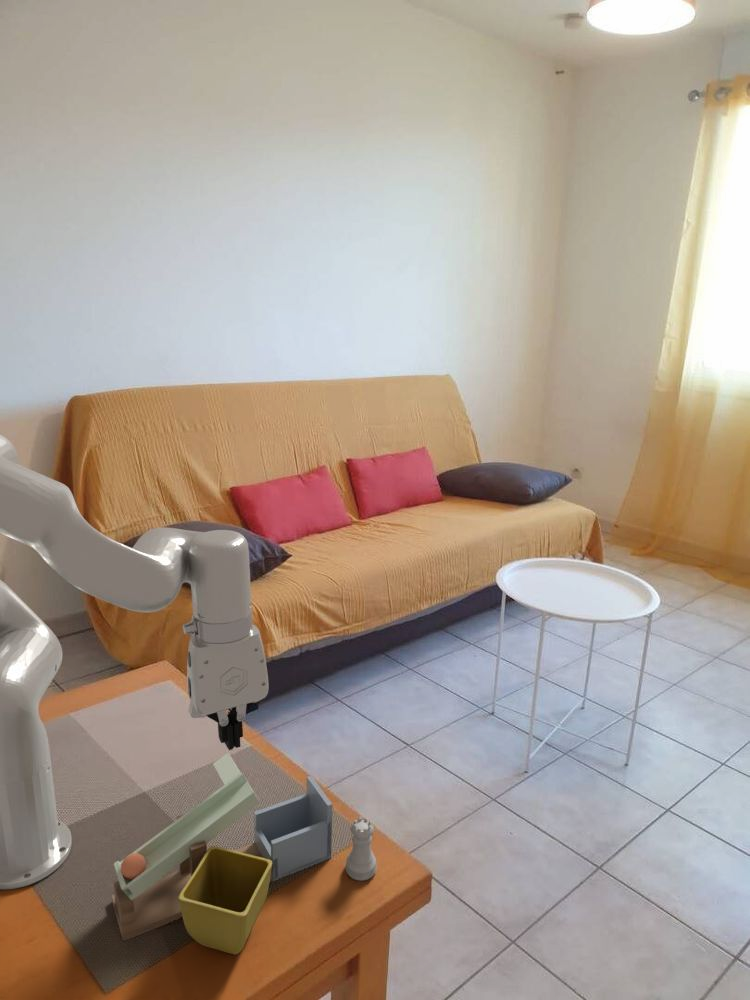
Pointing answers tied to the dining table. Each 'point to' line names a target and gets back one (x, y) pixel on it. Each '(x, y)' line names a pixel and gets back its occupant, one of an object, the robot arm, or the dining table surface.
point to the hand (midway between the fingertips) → (231, 743)
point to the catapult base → (161, 895)
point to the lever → (192, 828)
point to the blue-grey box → (295, 831)
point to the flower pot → (225, 898)
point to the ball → (133, 866)
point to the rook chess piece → (361, 851)
